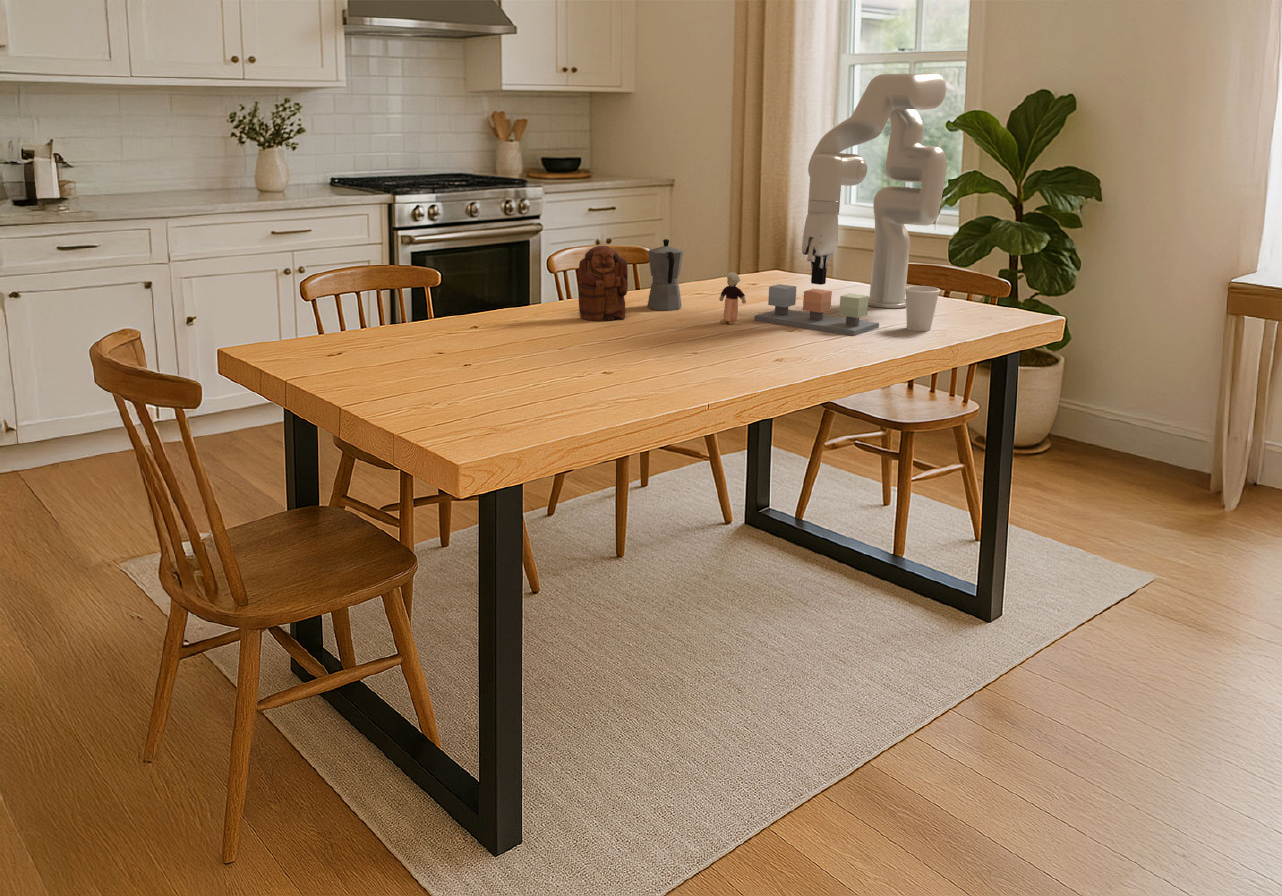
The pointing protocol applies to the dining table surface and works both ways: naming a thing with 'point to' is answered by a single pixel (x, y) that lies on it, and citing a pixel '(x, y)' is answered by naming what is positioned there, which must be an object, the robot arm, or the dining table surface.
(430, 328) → the dining table surface
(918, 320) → the dixie cup
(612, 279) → the wooden figurine
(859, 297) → the button sage
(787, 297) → the button slate
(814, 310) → the button terracotta
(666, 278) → the coffeepot
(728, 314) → the grandmother figurine
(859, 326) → the button board
